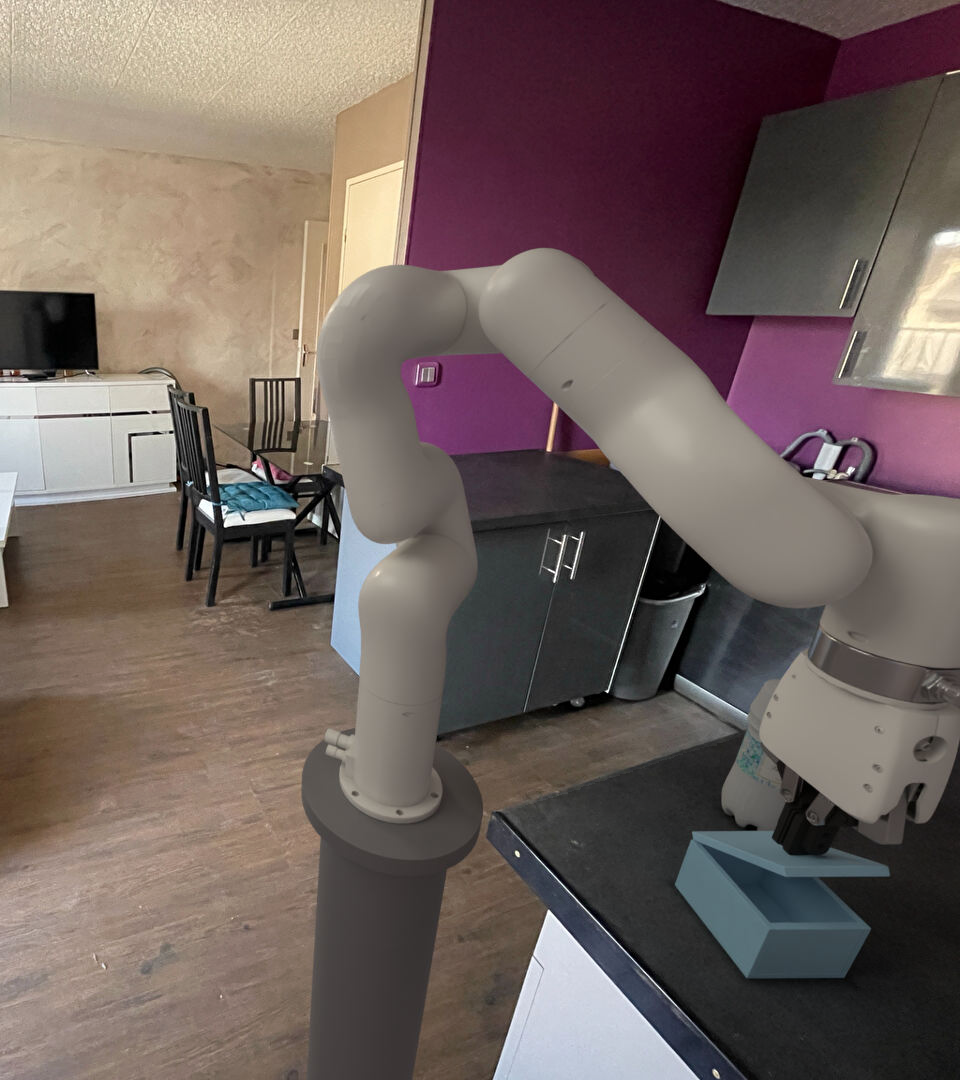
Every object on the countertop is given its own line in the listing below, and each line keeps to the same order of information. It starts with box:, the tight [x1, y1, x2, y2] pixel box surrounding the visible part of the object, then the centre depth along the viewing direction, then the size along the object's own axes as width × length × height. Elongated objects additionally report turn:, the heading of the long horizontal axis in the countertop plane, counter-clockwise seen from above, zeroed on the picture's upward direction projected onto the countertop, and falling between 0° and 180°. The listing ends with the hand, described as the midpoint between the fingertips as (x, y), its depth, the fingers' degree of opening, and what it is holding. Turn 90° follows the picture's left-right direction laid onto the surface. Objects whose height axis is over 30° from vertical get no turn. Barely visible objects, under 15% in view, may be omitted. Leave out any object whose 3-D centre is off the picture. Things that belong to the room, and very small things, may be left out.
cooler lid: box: [691, 830, 891, 878], centre depth 51 cm, size 10×8×1 cm
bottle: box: [721, 665, 790, 831], centre depth 62 cm, size 7×7×20 cm
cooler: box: [674, 839, 872, 979], centre depth 53 cm, size 9×8×6 cm
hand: (797, 846), depth 49 cm, fingers closed
